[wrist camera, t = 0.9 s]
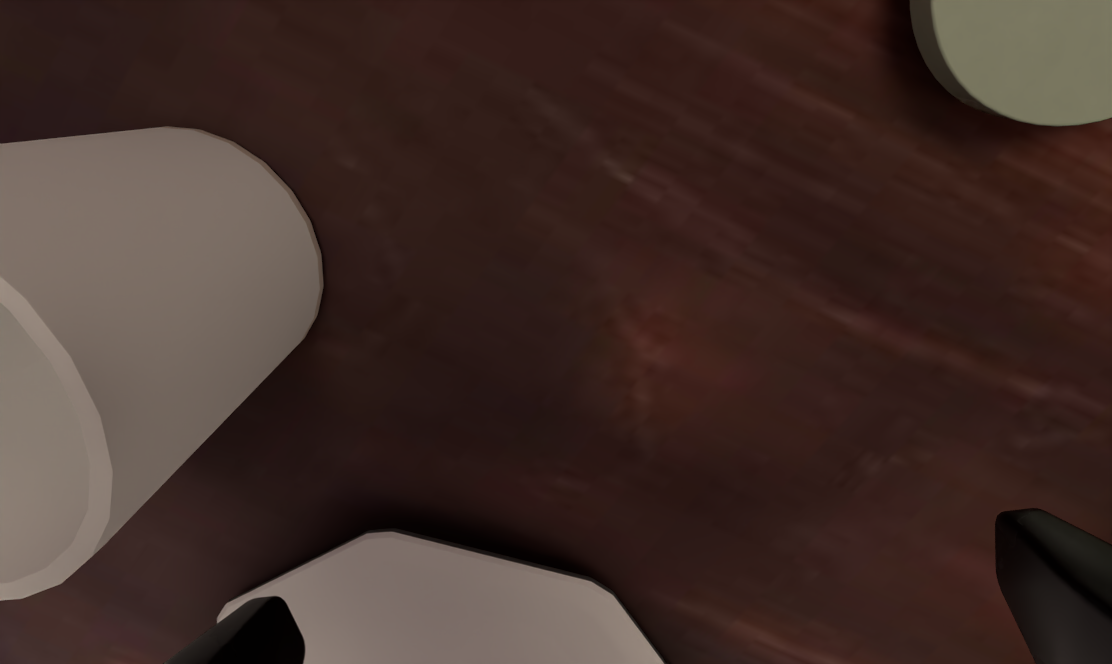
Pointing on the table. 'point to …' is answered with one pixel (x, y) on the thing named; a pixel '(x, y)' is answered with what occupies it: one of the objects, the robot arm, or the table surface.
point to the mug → (131, 324)
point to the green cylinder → (1021, 56)
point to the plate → (449, 607)
